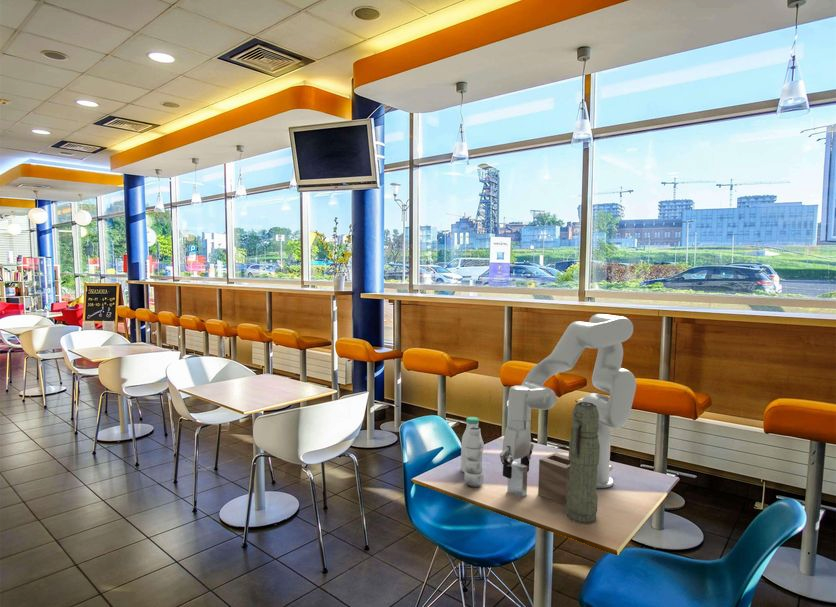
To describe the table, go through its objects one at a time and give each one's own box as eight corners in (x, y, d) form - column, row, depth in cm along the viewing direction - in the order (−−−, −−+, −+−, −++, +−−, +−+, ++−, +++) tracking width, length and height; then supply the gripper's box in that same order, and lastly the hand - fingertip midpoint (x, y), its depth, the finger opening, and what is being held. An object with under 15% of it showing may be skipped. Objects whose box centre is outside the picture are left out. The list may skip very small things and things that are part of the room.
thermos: (558, 518, 154) (563, 404, 152) (576, 505, 163) (580, 398, 161) (586, 528, 148) (591, 410, 146) (603, 515, 157) (608, 403, 155)
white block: (511, 489, 174) (512, 461, 174) (526, 495, 170) (527, 466, 169) (507, 491, 173) (508, 462, 172) (522, 497, 168) (523, 468, 168)
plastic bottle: (482, 489, 174) (484, 432, 172) (462, 487, 175) (464, 430, 174) (483, 482, 180) (485, 426, 179) (464, 480, 181) (466, 425, 180)
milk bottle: (476, 476, 185) (478, 422, 184) (457, 472, 189) (458, 419, 187) (484, 469, 192) (486, 417, 190) (465, 465, 195) (467, 414, 194)
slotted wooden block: (554, 486, 178) (555, 452, 177) (580, 495, 171) (582, 460, 170) (538, 494, 171) (539, 459, 170) (564, 504, 164) (566, 468, 163)
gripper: (524, 416, 178) (521, 464, 179) (493, 425, 167) (490, 476, 168) (543, 422, 173) (540, 471, 174) (512, 430, 161) (509, 483, 162)
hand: (515, 473), depth 171 cm, fingers open, 9 cm apart
